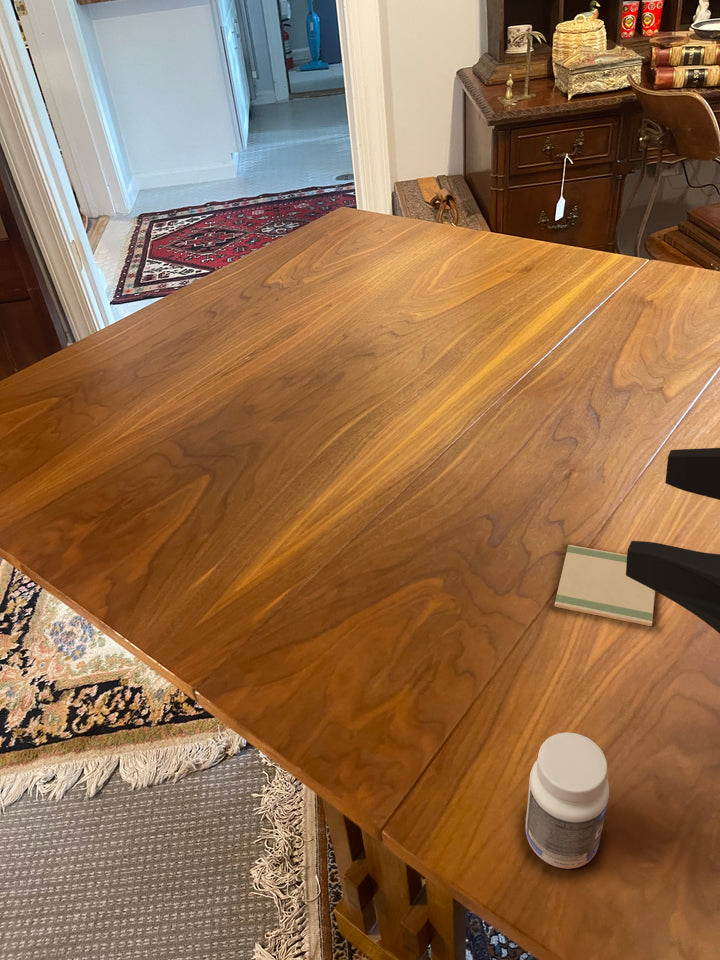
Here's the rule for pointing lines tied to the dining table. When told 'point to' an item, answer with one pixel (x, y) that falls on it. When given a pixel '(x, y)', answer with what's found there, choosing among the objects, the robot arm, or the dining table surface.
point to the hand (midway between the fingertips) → (649, 509)
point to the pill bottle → (567, 800)
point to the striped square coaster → (603, 587)
